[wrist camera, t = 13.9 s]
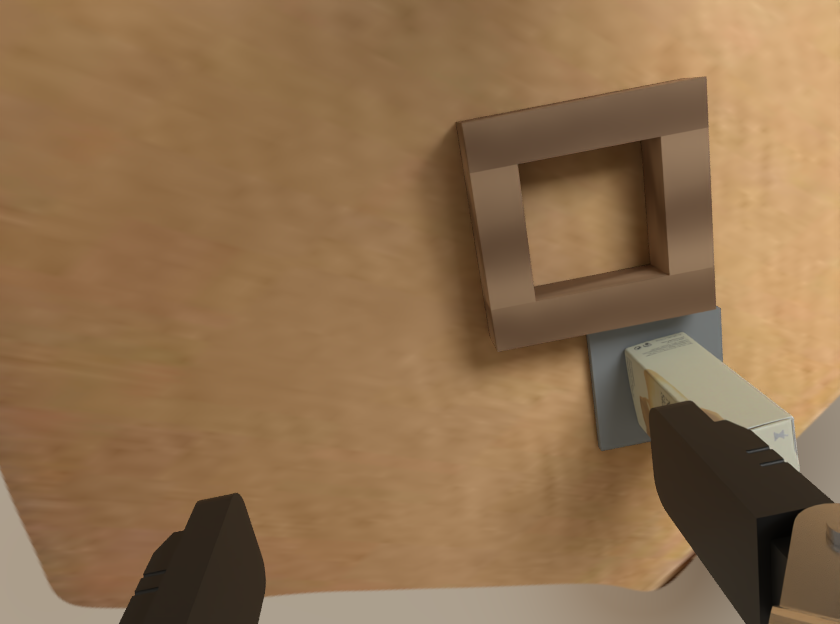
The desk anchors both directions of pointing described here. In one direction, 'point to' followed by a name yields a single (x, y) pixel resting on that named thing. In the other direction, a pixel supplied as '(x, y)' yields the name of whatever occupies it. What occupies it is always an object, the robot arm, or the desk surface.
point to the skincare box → (704, 390)
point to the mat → (612, 376)
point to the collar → (665, 207)
